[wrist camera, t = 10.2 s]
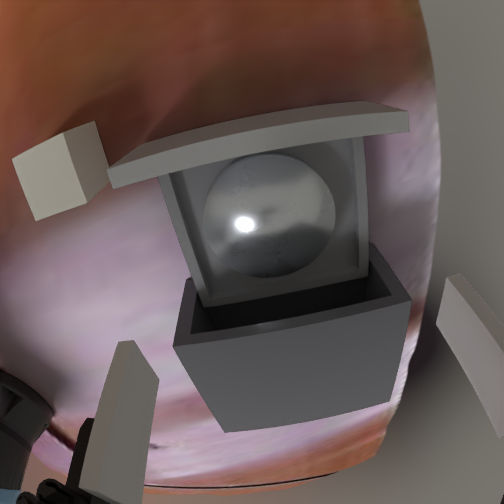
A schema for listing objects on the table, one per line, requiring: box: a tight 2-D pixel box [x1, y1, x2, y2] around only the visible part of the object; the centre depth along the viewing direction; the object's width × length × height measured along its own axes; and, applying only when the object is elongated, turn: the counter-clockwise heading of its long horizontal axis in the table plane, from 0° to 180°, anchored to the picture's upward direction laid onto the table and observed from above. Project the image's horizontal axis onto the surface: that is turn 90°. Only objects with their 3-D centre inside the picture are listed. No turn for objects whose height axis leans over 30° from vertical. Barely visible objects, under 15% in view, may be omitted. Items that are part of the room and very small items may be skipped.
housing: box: [173, 244, 412, 433], centre depth 27 cm, size 17×14×8 cm
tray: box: [107, 101, 409, 308], centre depth 21 cm, size 17×14×7 cm
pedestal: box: [12, 121, 110, 221], centre depth 19 cm, size 5×5×5 cm
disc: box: [203, 151, 336, 278], centre depth 22 cm, size 9×9×2 cm
